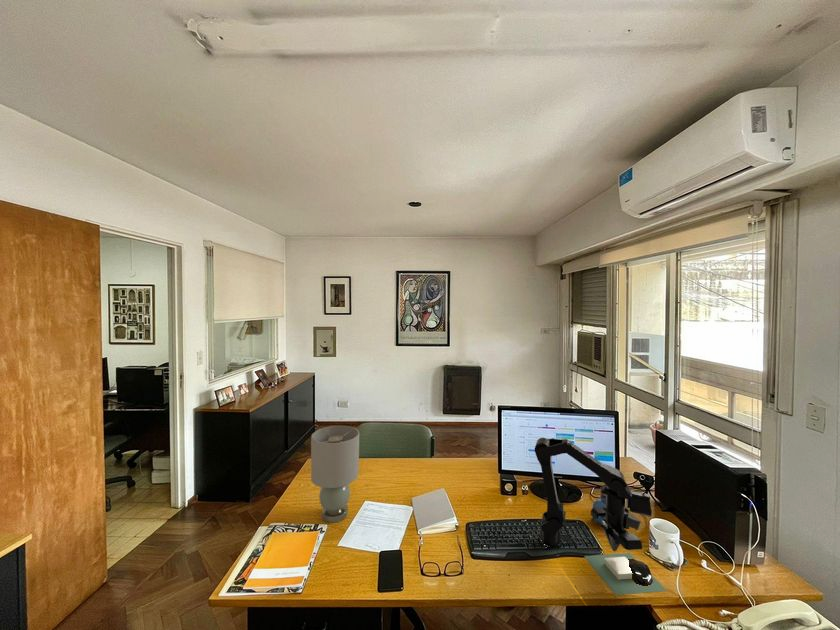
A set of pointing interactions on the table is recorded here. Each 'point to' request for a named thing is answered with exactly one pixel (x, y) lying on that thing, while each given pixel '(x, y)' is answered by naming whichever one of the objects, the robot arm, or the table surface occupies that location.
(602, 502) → the blue bottle
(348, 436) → the lamp
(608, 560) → the block
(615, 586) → the mat
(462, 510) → the table surface
